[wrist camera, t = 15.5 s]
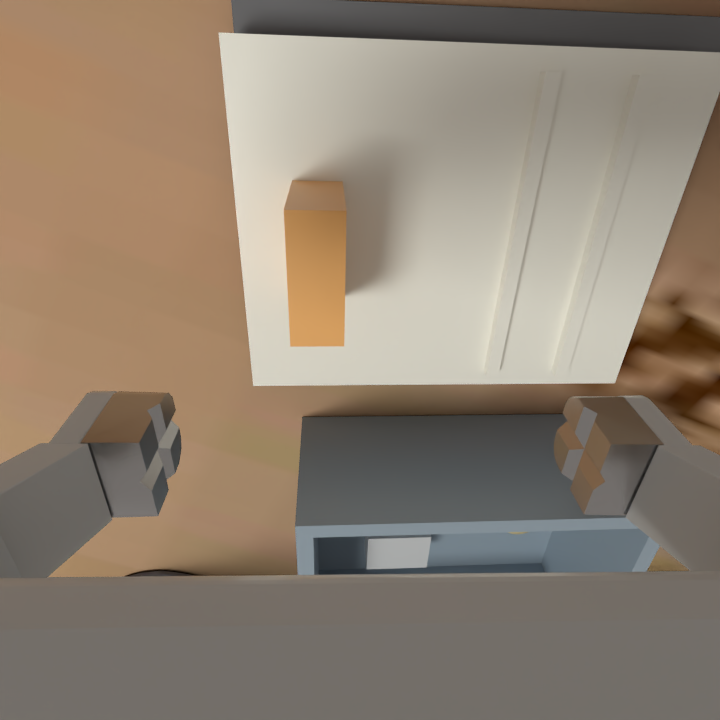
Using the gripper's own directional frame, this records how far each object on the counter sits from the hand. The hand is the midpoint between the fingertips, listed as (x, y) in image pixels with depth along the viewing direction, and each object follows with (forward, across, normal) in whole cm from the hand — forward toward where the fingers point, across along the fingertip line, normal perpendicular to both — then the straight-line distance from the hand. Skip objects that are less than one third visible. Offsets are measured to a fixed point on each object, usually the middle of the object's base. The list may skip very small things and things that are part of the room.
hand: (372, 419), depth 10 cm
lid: (+14, -4, 0) cm, 14 cm away
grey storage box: (+15, -6, +19) cm, 25 cm away
